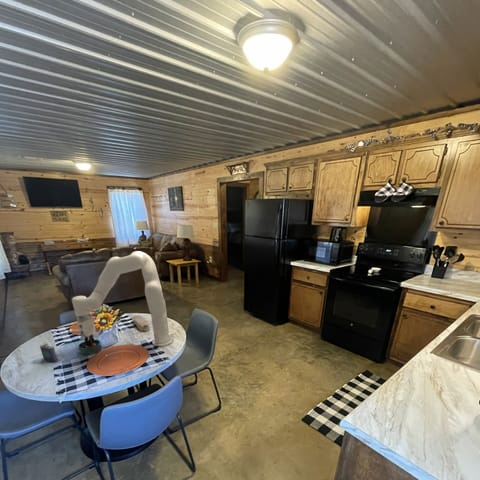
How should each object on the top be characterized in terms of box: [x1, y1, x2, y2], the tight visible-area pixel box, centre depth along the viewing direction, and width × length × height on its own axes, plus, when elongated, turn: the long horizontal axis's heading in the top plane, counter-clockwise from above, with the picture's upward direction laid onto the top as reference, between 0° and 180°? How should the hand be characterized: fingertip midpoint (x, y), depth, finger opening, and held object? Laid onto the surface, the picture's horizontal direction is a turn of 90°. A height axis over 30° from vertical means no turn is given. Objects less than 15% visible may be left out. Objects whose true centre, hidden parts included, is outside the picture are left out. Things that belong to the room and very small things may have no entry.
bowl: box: [77, 338, 103, 356], centre depth 163 cm, size 12×12×4 cm
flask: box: [39, 343, 58, 363], centre depth 151 cm, size 9×3×11 cm, turn 74°
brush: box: [86, 336, 96, 348], centre depth 161 cm, size 6×6×10 cm
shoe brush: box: [131, 315, 150, 332], centre depth 197 cm, size 24×8×5 cm, turn 37°
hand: (90, 344), depth 161 cm, fingers closed on brush, 2 cm apart
